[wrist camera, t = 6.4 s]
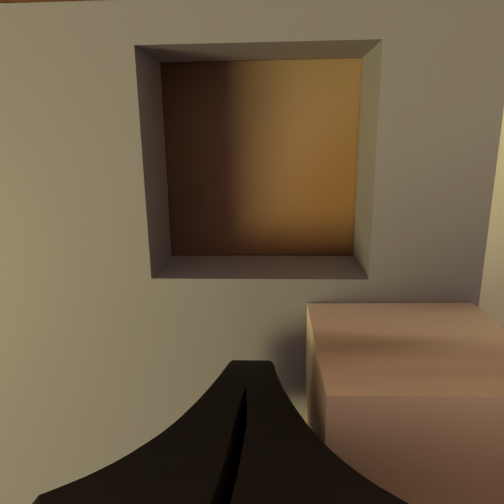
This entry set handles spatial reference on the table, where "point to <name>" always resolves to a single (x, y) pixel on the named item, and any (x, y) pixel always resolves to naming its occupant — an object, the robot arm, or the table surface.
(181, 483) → the robot arm
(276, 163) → the table surface
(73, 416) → the trap track
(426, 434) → the birch block
